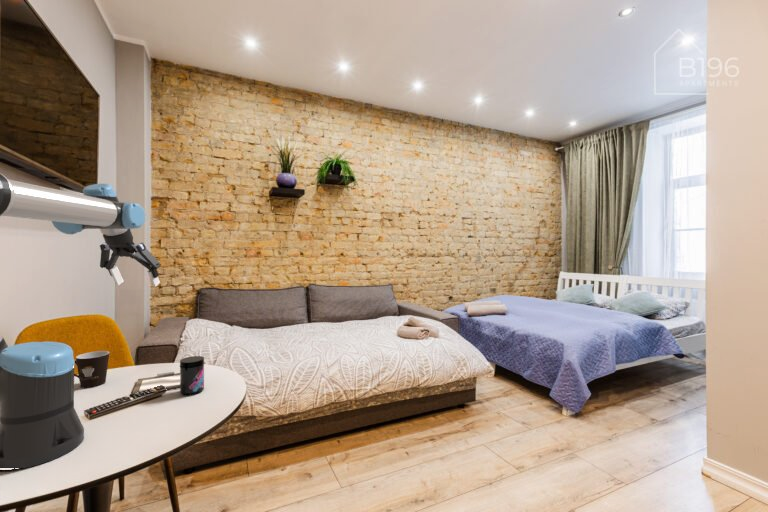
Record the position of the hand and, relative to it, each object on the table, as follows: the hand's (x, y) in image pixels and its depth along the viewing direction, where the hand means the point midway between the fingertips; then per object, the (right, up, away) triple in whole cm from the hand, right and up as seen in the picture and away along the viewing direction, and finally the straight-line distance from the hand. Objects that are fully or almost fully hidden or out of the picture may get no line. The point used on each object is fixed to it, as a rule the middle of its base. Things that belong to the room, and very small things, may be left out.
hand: (138, 284), depth 124 cm
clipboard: (+15, -33, -9) cm, 37 cm away
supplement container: (+28, -33, -15) cm, 46 cm away
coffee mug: (-10, -33, -9) cm, 36 cm away
